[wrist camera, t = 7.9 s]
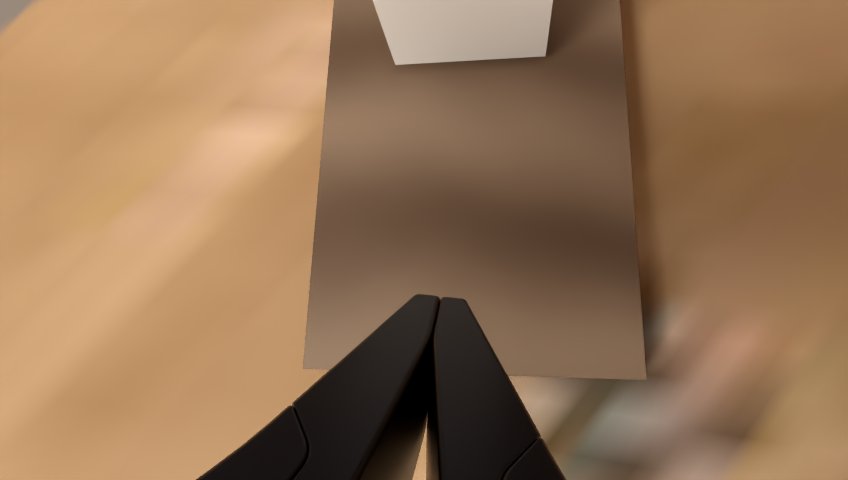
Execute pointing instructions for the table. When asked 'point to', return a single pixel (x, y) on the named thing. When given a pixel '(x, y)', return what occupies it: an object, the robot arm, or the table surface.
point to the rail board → (482, 196)
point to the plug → (464, 29)
